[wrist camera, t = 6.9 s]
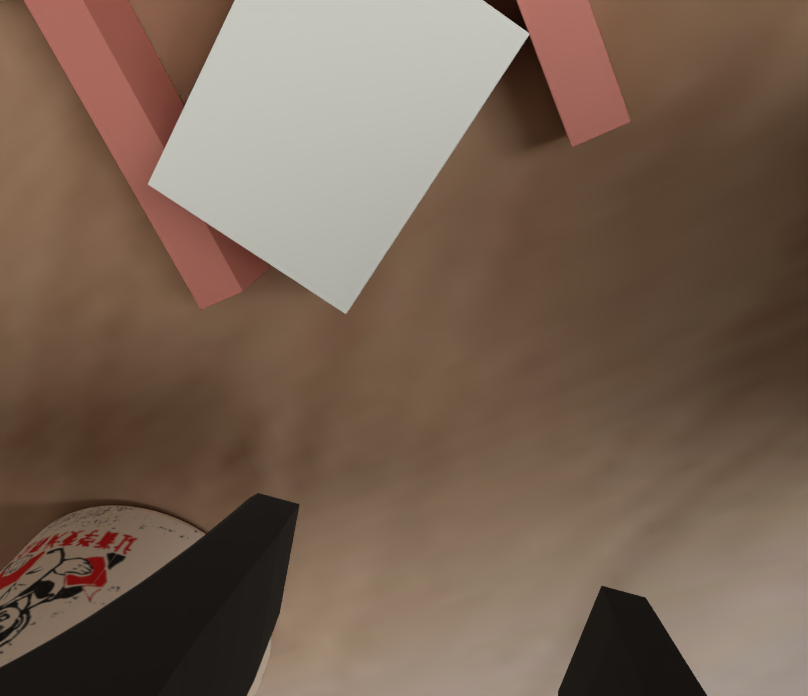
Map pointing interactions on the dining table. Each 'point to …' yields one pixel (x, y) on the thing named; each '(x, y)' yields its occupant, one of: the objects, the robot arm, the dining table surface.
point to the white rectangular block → (330, 126)
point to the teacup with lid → (86, 572)
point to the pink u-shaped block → (161, 108)
